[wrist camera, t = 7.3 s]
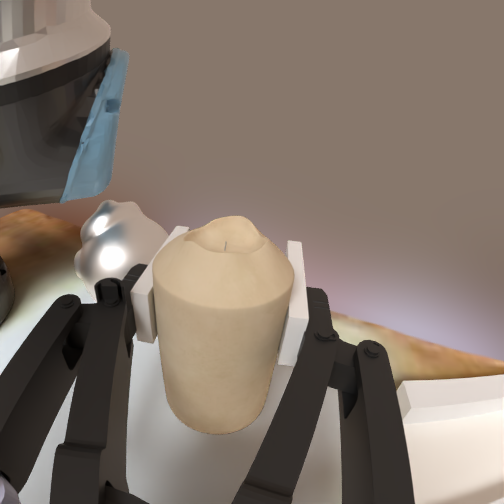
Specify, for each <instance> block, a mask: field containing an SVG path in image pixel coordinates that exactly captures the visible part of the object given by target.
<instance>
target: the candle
mask: <svg viewBox="0 0 504 504" xmlns="http://www.w3.org/2000/svg"><path fill="white" fill-rule="evenodd" d="M152 274H153V288H154V301H155V312H156V322H157V331H158V340H159V349H160V357H161V364H162V372H163V379H164V385H165V391H166V396H167V400H168V403H169V406H170V408H171V410H172V411H173V413H174V414H175V416H176V417H177V418H178V419H179V420H180V421H181V422H182V423H184V424H185V425H187V426H188V427H190V428H192V429H194V430H197V431H199V432H203V433H207V434H229V433H233V432H236V431H239V430H241V429H243V428H245V427H247V426H248V425H250V424H251V423H252V422H253V421H254V420H255V419H256V418H257V417H258V415H259V414H260V412H261V411H262V409H263V406H264V403H265V400H266V397H267V393H268V390H269V386H270V382H271V378H272V374H273V370H274V366H275V362H276V357H277V353H278V349H279V345H280V340H281V336H282V332H283V328H284V323H285V319H286V314H287V310H288V306H289V301H290V297H291V292H292V288H293V283H294V275H295V274H294V269H293V267H292V264H291V263H290V261H289V260H288V258H287V257H286V256H285V255H284V254H283V252H282V251H281V250H280V249H279V248H278V247H277V246H276V245H275V244H274V243H272V242H271V241H270V240H269V239H268V238H266V237H265V236H264V235H263V234H262V233H261V232H260V231H259V230H258V229H257V228H256V227H255V226H254V225H253V223H252V222H251V221H250V220H248V219H247V218H245V217H243V216H228V217H222V218H218V219H215V220H212V221H211V222H209V223H208V224H206V225H204V226H202V227H200V228H197V229H193V230H191V231H188V232H185V233H183V234H181V235H179V236H177V237H176V238H174V239H173V240H171V241H170V242H169V243H168V244H167V245H165V246H164V247H163V248H162V249H161V250H160V251H159V252H158V254H157V255H156V256H155V258H154V261H153V264H152Z"/></svg>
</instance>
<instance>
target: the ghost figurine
mask: <svg viewBox="0 0 504 504" xmlns="http://www.w3.org/2000/svg"><path fill="white" fill-rule="evenodd" d="M80 236H81V240H82V249H80V250H79V251H78V252H77V253H76V255H75V258H74V270H75V273H76V274H77V276H78V277H79V278H80V279H81V280H82V281H83V283H84V286H85V288H86V290H87V291H88V293H89V294H90V296H91V297H92V298H93V300H94V301H95V302H96V303H97V299H96V294H95V289H94V285H95V284H96V282H98V281H99V280H101V279H104V278H111V277H112V278H117V279H120V280H121V281H122V279H123V278H124V277H125V275H127V273H128V272H129V270H130V269H131V268H132V267H134V266H135V265H137V264H139V263H140V264H146V265H149V264H150V262H151V261H152V259H153V258H154V256H155V255H156V254H157V252H158V251H159V249H160V248H161V247H162V245H163V244H164V242H165V241H166V240H167V238H168V237H169V235H168V233H167V232H166V231H165V230H164V229H163V228H162V227H161V226H160V225H159V224H157V223H156V222H155V221H153V220H151V219H149V218H147V217H146V216H145V215H144V214H143V213H142V211H141V210H140V208H139V206H138V205H137V204H136V203H134V202H123V203H117V202H115V201H113V200H106V201H104V202H103V203H101V204H100V206H99V207H98V209H97V211H96V212H95V213H94V214H93V215H92V216H91V217H90V218H89V219H88V220H87V221H86V222H85V223H84V224H83V226H82V228H81V232H80Z"/></svg>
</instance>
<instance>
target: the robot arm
mask: <svg viewBox="0 0 504 504" xmlns="http://www.w3.org/2000/svg"><path fill="white" fill-rule="evenodd" d="M90 3H91V0H0V208H8V207H18V206H27V205H38V204H49V203H65V202H66V201H67V200H73V199H79V198H86V197H92V196H95V195H98V194H99V193H101V192H102V191H104V190H105V189H106V187H107V186H108V185H109V183H110V180H111V177H112V170H113V161H114V153H115V145H116V136H117V128H118V120H119V113H120V106H121V100H122V94H123V90H124V84H125V79H126V74H127V67H128V62H129V54H128V53H127V52H126V51H123V50H120V49H119V48H113V49H112V50H111V51H110V33H111V29H110V26H109V24H107V23H106V22H105V21H104V20H103V19H102V18H100V17H99V16H98V15H97V14H96V13H94V12H93V11H92V9H91V5H90ZM188 231H190V227H184V226H176V228H175V229H174V230H173V232H172V233H171V234H170V236H169V237H168V238H167V240H166V241H165V242H164V244H163V245H162V247H161V248H160V249H159V251H160V250H161V249H162V248H163V247H164V246H165V245H167V244H168V243H169V242H170V241H171V240H173V239H174V238H176V237H177V236H179V235H181V234H183V233H185V232H188ZM159 251H158V252H159ZM158 252H157V254H158ZM157 254H156V255H157ZM156 255H155V256H156ZM155 256H154V258H155ZM285 256H286V257H287V258H288V260H289V261H290V263H291V264H292V267H293V269H294V274H295V275H294V283H293V288H292V292H291V297H290V301H289V306H288V310H287V314H286V319H285V323H284V328H283V332H282V336H281V340H280V345H279V349H278V364H279V365H288V366H295V367H294V369H293V372H292V374H291V377H290V379H289V382H288V384H287V387H286V389H285V392H284V394H283V396H282V399H281V401H280V404H279V406H278V408H277V411H276V413H275V415H274V418H273V420H272V422H271V425H270V427H269V429H268V431H267V434H266V436H265V438H264V440H263V442H262V445H261V447H260V449H259V451H258V453H257V455H256V458H255V460H254V462H253V464H252V466H251V468H250V470H249V472H248V474H247V476H246V478H245V480H244V482H243V483H242V485H241V486H240V488H239V490H238V492H237V494H236V496H235V498H234V500H233V502H232V504H291V502H292V495H293V492H294V489H295V486H296V484H297V481H298V478H299V475H300V473H301V470H302V467H303V464H304V461H305V458H306V455H307V452H308V449H309V446H310V443H311V440H312V437H313V434H314V431H315V428H316V424H317V421H318V418H319V415H320V411H321V408H322V404H323V401H324V397H325V394H326V390H327V386H329V387H331V388H334V389H337V390H338V397H339V413H340V433H341V461H342V504H415V499H414V490H413V482H412V475H411V468H410V461H409V455H408V449H407V443H406V437H405V432H404V426H403V421H402V416H401V411H400V406H399V401H398V397H397V392H396V388H395V383H394V379H393V375H392V371H391V367H390V363H389V359H388V355H387V352H386V350H385V348H384V347H383V346H382V345H381V344H379V343H377V342H376V341H371V340H364V341H362V342H360V343H359V344H358V346H355V345H352V344H349V343H346V342H344V341H342V340H341V339H339V335H338V333H337V332H336V331H335V330H334V329H333V326H332V320H331V314H330V310H329V304H328V297H327V295H326V293H325V292H324V291H323V290H322V289H319V288H311V287H306V283H305V272H304V262H303V254H302V244H301V242H295V241H289V240H288V242H287V248H286V254H285ZM154 258H153V259H152V261H151V262H150V264H149V265H146V264H140V263H139V264H137V265H135V266H134V267H132V268H131V269H130V270H129V272H128V273H127V275H125V277H124V278H123V279H122V281H121V280H120V279H117V278H112V277H111V278H104V279H101V280H99V281H98V282H96V284H95V285H94V289H95V294H96V299H97V303H94V304H81V300H80V298H79V297H78V296H76V295H73V294H68V295H63V296H61V297H59V298H58V299H57V300H55V302H54V303H53V304H52V305H51V307H50V308H49V309H48V310H47V312H46V313H45V314H44V316H43V317H42V318H41V319H40V321H39V322H38V323H37V325H36V326H35V327H34V329H33V330H32V331H31V333H30V334H29V335H28V337H27V338H26V339H25V341H24V342H23V343H22V345H21V346H20V348H19V349H18V350H17V352H16V353H15V355H14V356H13V358H12V359H11V360H10V362H9V363H8V365H7V366H6V368H5V369H4V371H3V372H2V374H1V375H0V504H21V502H20V501H19V497H18V494H19V492H20V491H21V490H22V488H23V487H24V485H25V484H26V482H27V480H28V478H29V476H30V474H31V472H32V469H33V467H34V464H35V462H36V460H37V457H38V455H39V453H40V451H41V448H42V446H43V444H44V442H45V439H46V437H47V435H48V433H49V431H50V428H51V426H52V424H53V422H54V420H55V418H56V416H57V414H58V412H59V410H60V408H61V406H62V404H63V402H64V400H65V398H66V396H67V394H68V392H69V390H70V388H71V386H72V384H73V382H74V380H75V378H76V376H77V379H76V383H75V388H74V393H73V397H72V402H71V408H70V413H69V419H68V424H67V430H66V437H65V441H64V443H63V444H59V445H58V446H57V448H56V452H55V457H54V464H53V473H52V482H51V492H50V504H149V503H147V502H145V501H143V500H141V499H140V498H138V497H136V496H134V495H132V494H129V489H128V485H127V480H126V439H127V417H128V401H129V388H130V376H131V365H132V356H133V347H134V345H133V340H132V338H133V336H134V335H135V333H136V334H137V340H138V341H142V342H147V343H151V344H153V343H154V341H155V339H156V336H157V334H158V331H157V322H156V312H155V301H154V288H153V274H152V264H153V261H154ZM14 296H15V291H14V286H13V283H12V279H11V276H10V273H9V270H8V268H7V266H6V264H5V263H4V261H3V259H2V258H1V256H0V324H1V323H2V321H3V320H4V319H5V317H6V316H7V314H8V313H9V311H10V309H11V307H12V304H13V301H14ZM296 361H297V362H296Z"/></svg>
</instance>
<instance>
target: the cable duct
mask: <svg viewBox="0 0 504 504" xmlns="http://www.w3.org/2000/svg"><path fill="white" fill-rule="evenodd" d="M396 392H397V397H398V401H399V406H400V411H401V416H402V421H403V426H404V432H405V437H406V443H407V449H408V455H409V461H410V468H411V475H412V482H413V490H414V499H415V504H504V374H503V375H494V376H484V377H473V378H460V379H443V380H414V381H403V382H402V383H401V385H400V386H399V388H398V390H397V391H396Z"/></svg>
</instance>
